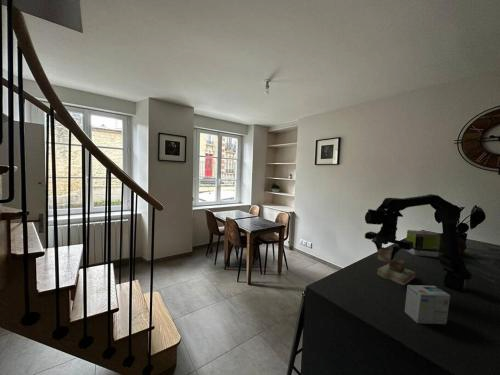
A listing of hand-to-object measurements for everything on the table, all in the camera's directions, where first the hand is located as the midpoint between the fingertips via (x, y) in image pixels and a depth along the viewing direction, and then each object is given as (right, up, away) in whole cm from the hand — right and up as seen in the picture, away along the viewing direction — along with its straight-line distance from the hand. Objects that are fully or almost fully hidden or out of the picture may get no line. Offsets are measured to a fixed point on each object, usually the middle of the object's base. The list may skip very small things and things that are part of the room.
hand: (385, 257), depth 103 cm
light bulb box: (-1, -14, -24) cm, 28 cm away
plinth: (+10, -12, +8) cm, 17 cm away
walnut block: (+10, -9, +8) cm, 15 cm away
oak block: (0, -1, 0) cm, 1 cm away
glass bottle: (+75, -13, +51) cm, 91 cm away
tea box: (+51, -12, +44) cm, 69 cm away
